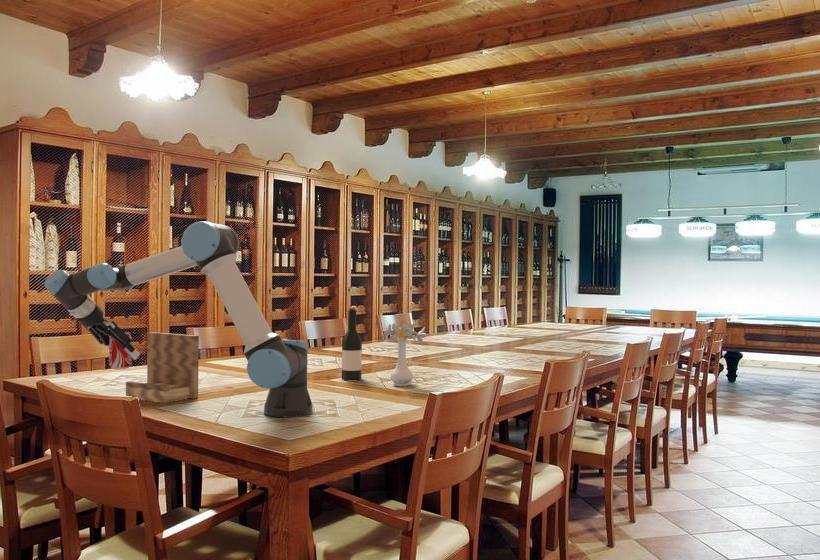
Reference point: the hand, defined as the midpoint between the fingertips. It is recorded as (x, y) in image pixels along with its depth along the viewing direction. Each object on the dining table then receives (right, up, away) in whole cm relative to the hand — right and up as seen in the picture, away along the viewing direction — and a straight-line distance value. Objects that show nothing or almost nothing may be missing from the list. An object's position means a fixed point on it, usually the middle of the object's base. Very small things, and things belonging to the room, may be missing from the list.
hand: (129, 356), depth 219 cm
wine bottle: (+72, -16, +51) cm, 89 cm away
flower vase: (+93, -16, +38) cm, 102 cm away
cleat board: (+8, -15, +6) cm, 18 cm away
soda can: (-2, -4, -3) cm, 5 cm away
